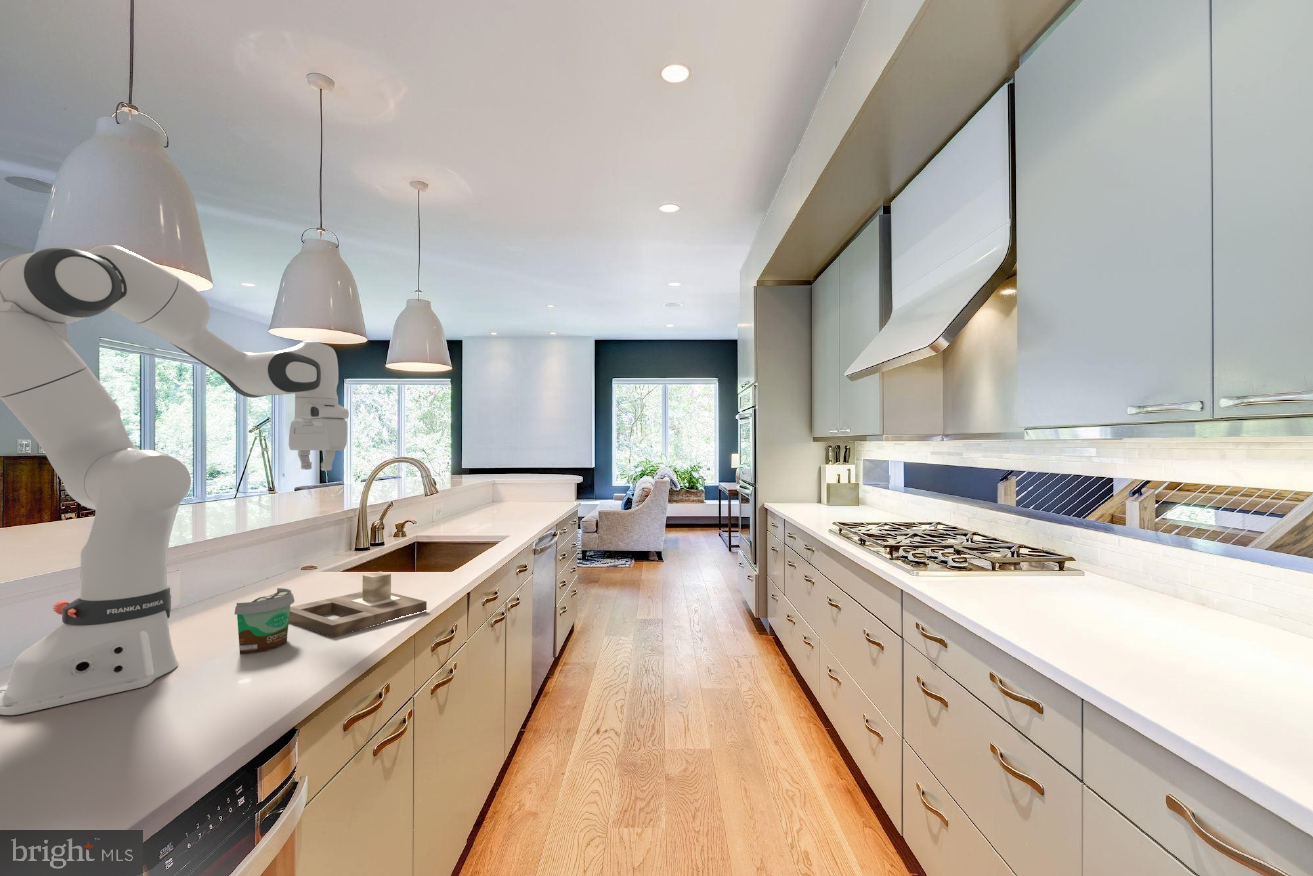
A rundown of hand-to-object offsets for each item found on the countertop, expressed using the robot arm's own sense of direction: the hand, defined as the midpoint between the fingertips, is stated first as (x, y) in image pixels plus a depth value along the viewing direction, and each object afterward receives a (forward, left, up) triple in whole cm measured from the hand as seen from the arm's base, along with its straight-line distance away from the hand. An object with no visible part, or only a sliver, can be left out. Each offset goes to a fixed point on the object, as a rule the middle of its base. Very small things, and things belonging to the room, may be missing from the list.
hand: (316, 470), depth 134 cm
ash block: (+10, -9, -31) cm, 34 cm away
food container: (-15, -15, -34) cm, 40 cm away
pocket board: (+5, -9, -34) cm, 36 cm away
